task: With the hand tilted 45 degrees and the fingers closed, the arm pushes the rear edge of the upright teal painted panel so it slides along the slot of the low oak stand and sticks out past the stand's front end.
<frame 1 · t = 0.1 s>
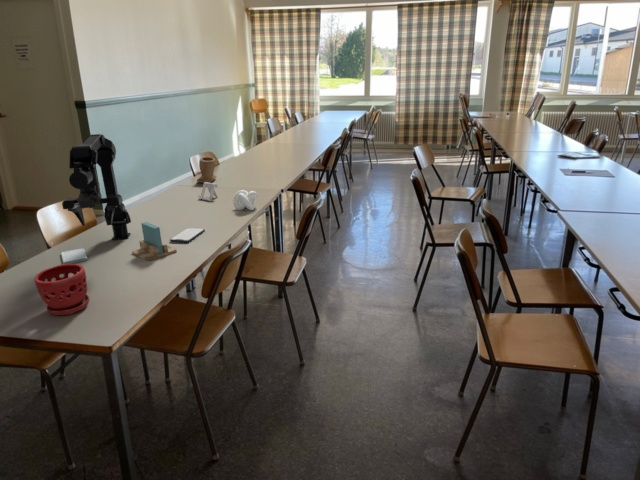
hand: (97, 224, 173), 15 cm above the table, tool pointing down, fingers open, 9 cm apart
stone cup: (208, 181, 299), on the table
hard drive: (74, 259, 184), on the table
plant pot: (68, 309, 144), on the table
portable electronic device stand: (209, 199, 259), on the table
white knot sculpture: (246, 209, 238), on the table
panel: (152, 237, 184), point 6 cm above the table, slide at 0.0 cm
stand: (154, 252, 186), on the table
smartphone: (188, 237, 203), on the table
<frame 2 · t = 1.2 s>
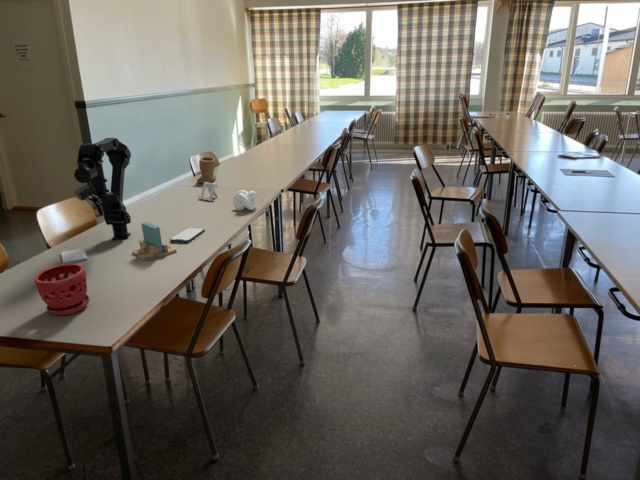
hand: (103, 216, 188), 13 cm above the table, tool pointing down, fingers open, 4 cm apart
nothing on the table moved.
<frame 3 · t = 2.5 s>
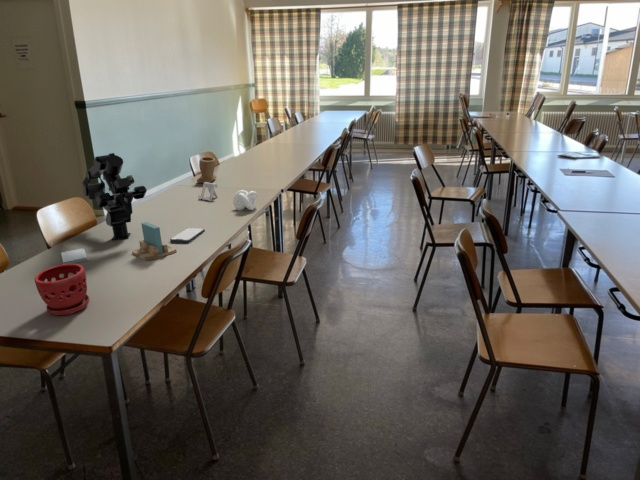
hand: (131, 213, 190), 13 cm above the table, tool tilted 45°, fingers closed
nothing on the table moved.
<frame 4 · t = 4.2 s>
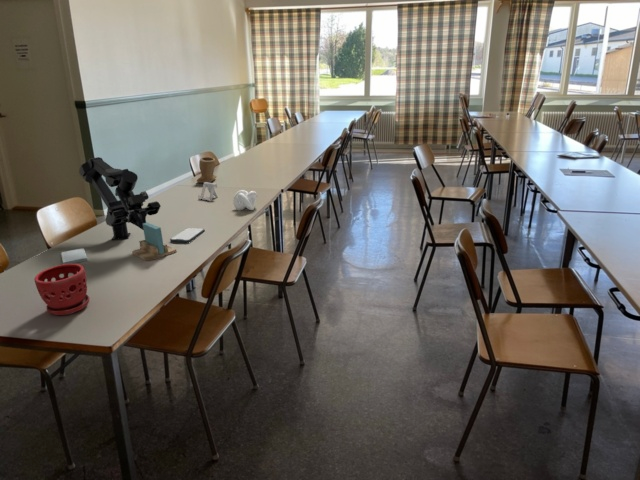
hand: (145, 230, 186), 8 cm above the table, tool tilted 45°, fingers closed, pressing on panel
panel: (153, 238, 183), point 6 cm above the table, slide at 1.0 cm, touching gripper
everything else where it was.
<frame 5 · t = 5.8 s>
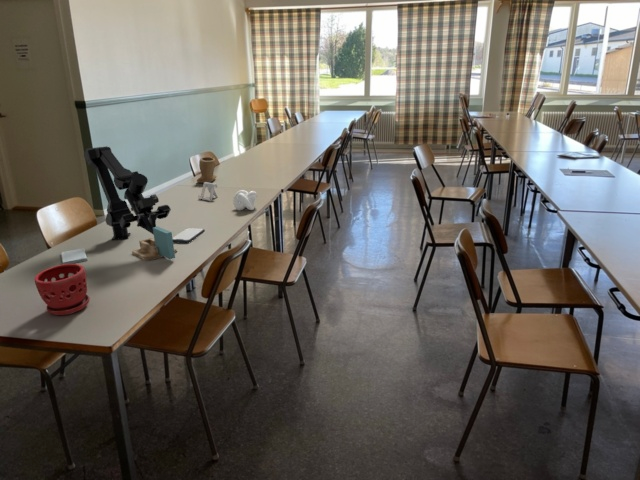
hand: (155, 234, 181), 8 cm above the table, tool tilted 45°, fingers closed, pressing on panel
panel: (163, 242, 178), point 6 cm above the table, slide at 8.6 cm, touching gripper
everything else where it was.
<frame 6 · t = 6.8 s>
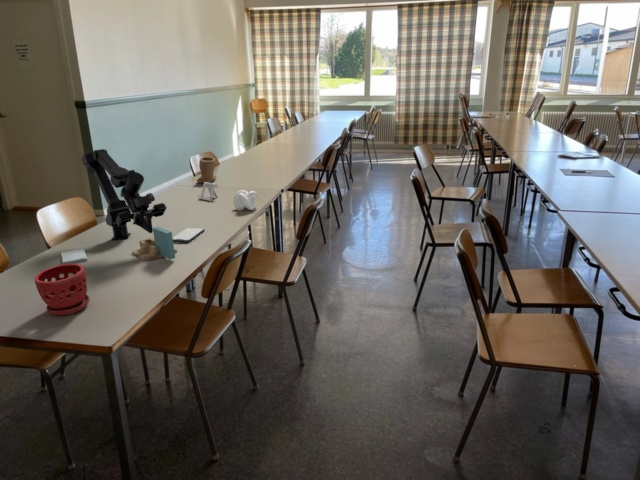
hand: (151, 232, 183), 8 cm above the table, tool tilted 45°, fingers closed
panel: (163, 242, 178), point 6 cm above the table, slide at 8.7 cm
everything else where it was.
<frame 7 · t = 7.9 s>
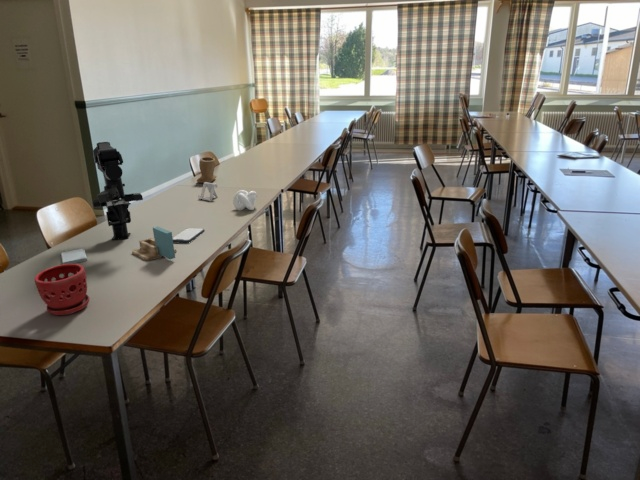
hand: (122, 222, 186), 11 cm above the table, tool tilted 15°, fingers closed
nothing on the table moved.
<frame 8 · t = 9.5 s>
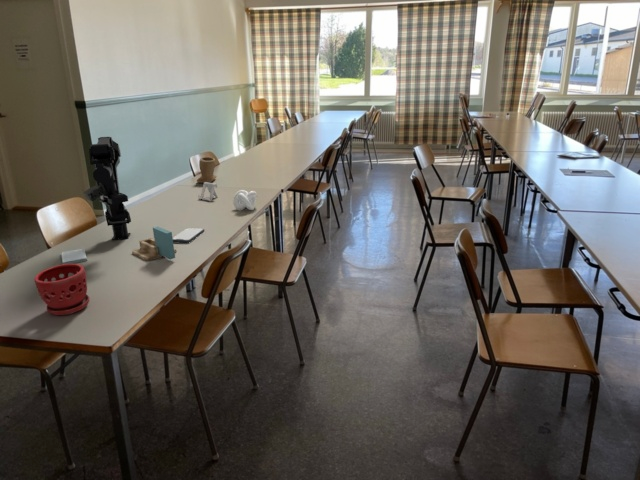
hand: (113, 217, 187), 13 cm above the table, tool pointing down, fingers closed
nothing on the table moved.
at the end: panel slide at 8.7 cm; panel tilted 0° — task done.
